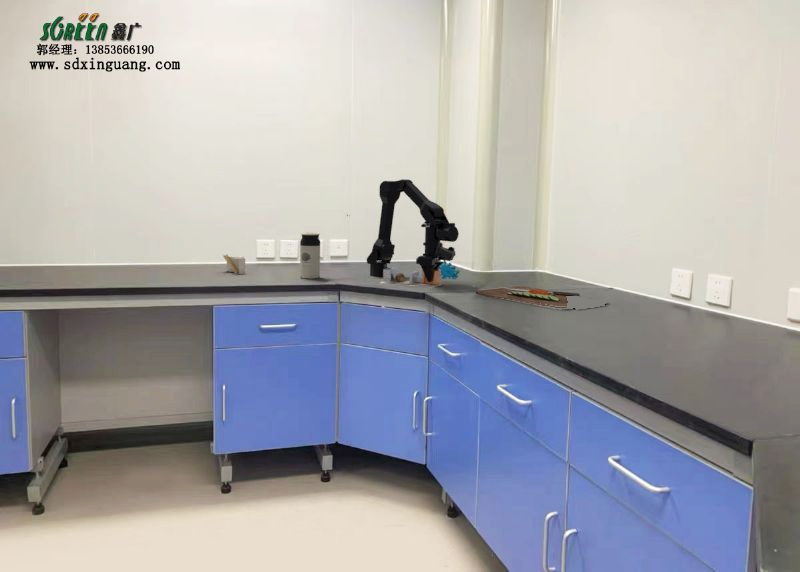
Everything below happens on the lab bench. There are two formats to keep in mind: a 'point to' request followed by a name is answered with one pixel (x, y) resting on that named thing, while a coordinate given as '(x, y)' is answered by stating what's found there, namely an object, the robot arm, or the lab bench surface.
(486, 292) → the chopping board
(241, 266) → the model
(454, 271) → the gear
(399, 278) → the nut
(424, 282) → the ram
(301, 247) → the travel mug
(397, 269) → the brushed steel block
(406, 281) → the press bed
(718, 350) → the lab bench surface
